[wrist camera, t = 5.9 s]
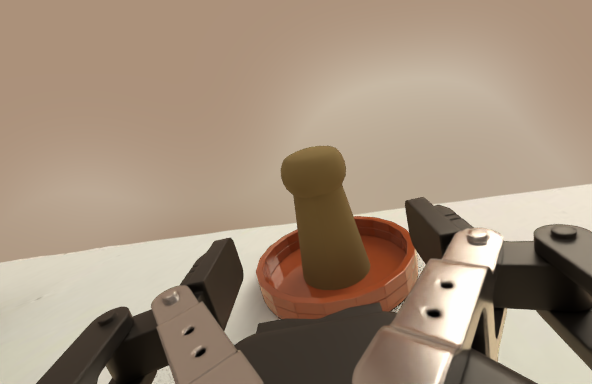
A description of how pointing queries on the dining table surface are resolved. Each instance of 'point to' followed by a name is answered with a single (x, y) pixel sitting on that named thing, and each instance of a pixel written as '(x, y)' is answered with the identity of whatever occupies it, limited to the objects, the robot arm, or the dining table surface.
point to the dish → (319, 303)
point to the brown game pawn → (324, 219)
